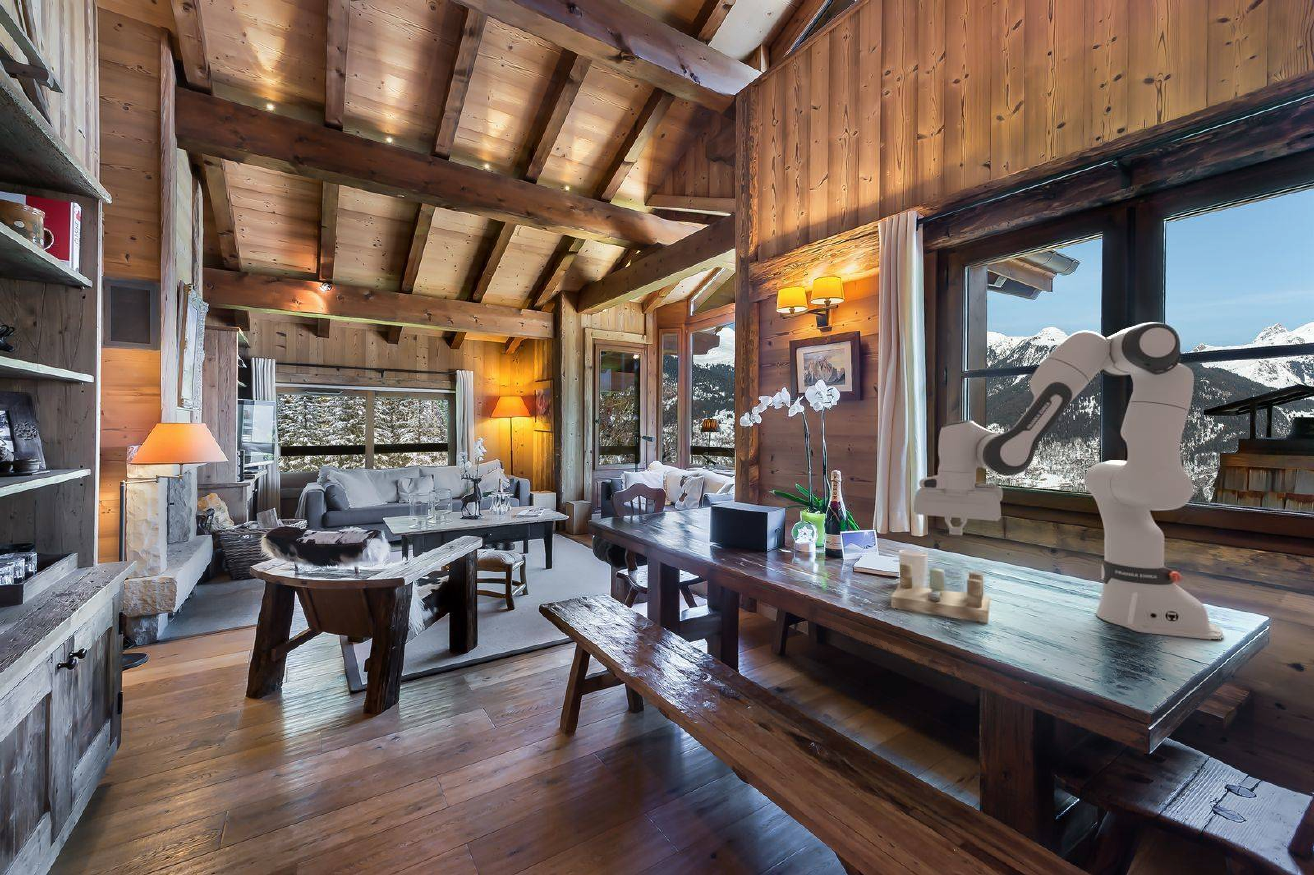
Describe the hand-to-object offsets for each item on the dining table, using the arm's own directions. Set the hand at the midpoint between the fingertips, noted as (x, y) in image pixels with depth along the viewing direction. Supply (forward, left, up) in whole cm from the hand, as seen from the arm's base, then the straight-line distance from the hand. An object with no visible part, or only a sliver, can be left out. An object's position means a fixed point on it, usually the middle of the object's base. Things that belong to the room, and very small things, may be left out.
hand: (955, 534), depth 146 cm
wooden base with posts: (+3, +2, -19) cm, 20 cm away
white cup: (+12, -16, -20) cm, 28 cm away
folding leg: (+4, +3, -16) cm, 17 cm away
